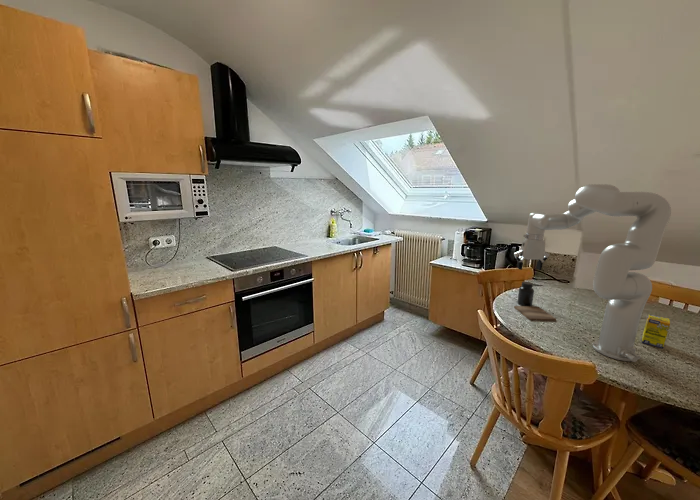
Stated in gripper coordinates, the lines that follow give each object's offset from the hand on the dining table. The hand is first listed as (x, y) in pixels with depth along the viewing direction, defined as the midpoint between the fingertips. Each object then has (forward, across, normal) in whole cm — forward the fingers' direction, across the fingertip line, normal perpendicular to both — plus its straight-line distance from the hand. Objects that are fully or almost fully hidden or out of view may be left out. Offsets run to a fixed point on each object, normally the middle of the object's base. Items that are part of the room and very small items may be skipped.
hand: (529, 269), depth 146 cm
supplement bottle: (+20, 0, -1) cm, 20 cm away
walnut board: (+19, -2, -13) cm, 23 cm away
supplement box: (+19, +30, -38) cm, 52 cm away
